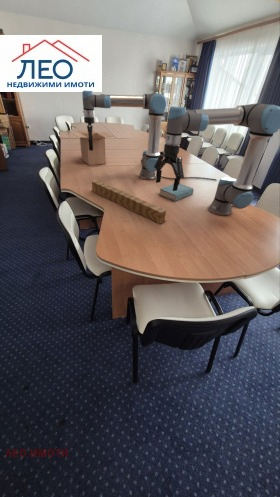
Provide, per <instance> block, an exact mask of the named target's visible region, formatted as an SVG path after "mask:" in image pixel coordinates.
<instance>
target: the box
mask: <svg viewBox="0 0 280 497" xmlns="http://www.w3.org/2000/svg"><path fill="white" fill-rule="evenodd" d="M70 133H71V134H72V135H74V136H75V137H77V138H79V144H80V153H81V160H83V162H85V163H86V165H87V166H95V165H97V166H98V165H106V163H107V162H106V158H107V157H106V138H113V137H114V136H113V135H111V134H109V133H108V132H105V131H98V132H96V131H95V130H93V129H92V136H93V137H92V140H93V151H92V150H89V141H88V140H89V134H88V130H77V132H76V131H70Z"/></svg>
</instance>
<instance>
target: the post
mask: <svg viewBox="0 0 280 497" xmlns="http://www.w3.org/2000/svg"><path fill="white" fill-rule="evenodd" d="M91 191H92V192H93V193H95V194H97V195H99V196H101V197H104V198H106V199H108V200H110V201H112V202H114V203H116V204H118V205H120V206H122V207H124V208H126V209H129V210H131V211H132V212H135V213H137V214H139V215H141V216H143V217H145V218H147V219H149V220H152V221H153V222H155V223H157V224H162V223H163V222H165V221H166V215H167V214H166V213H167V210H166V209H164V208H162V207H160V206H158V205H155V204H153V203H151V202H149V201H146V200H144V199H141V198H139V197H137V196H134V195H132V194H130V193H127V192H125V191H123V190H121V189H118V188H116V187H114V186H112V185H109V184H107V183H105V182H102V181H100V180H93V181H91Z"/></svg>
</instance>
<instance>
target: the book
mask: <svg viewBox="0 0 280 497" xmlns="http://www.w3.org/2000/svg"><path fill="white" fill-rule="evenodd" d="M173 186H174V183H172V184H170V185H166V186H164V187H161V188H159V190H160V191H159V194H158V195H159V196H161V197H164V198H165V199H168V200H171V201H173V202H176V201H179V200H182V199H184V198H186V197H188V196H191V195H193V194H194V188H193V187H191V186H188V185H185V184H183V183H179V185H178V189H177V190H176V191H173Z"/></svg>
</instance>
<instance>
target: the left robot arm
mask: <svg viewBox="0 0 280 497" xmlns="http://www.w3.org/2000/svg"><path fill="white" fill-rule="evenodd" d="M81 93H82V94H81V96H82V109H83V111H82V113H83V116H84V117H83V121H84V123H85V124H87V125H86V129H87V131H88V134H89V140H88V141H89V150H92V151H93V140H92V137H93V136H92V130H93V128H94V127H93V124H95V122H96V119H95V116H96V115H95V108H96V109H97V108H99V109H111V108H114V107H115V108H142V109H143V110H148V117H149V129H148V141H147V142H148V143H147V150H143V151H142V158H143V159H142V158H141V160H142V163H141V169H140V172H139V174H138V175H139V178H140V179H142V180H146V181H154V180H156V178H157V176H156V172H157V170H156V168H154V166H155V164H156V162H157V160H158V158H159V155H160V152H159V149H160V148H159V147H160V137H161V129H162V119H163V118H164V116H165V112H166V111H165V110H166V109H167V106H168V102H167V99H166V97H165V96H164V94H162V93H159V92H153V93H143V94H142V95H137V94H135V95H134V94H105V93H101V94H94V91H93V90H82V92H81ZM175 178H176V177H166V176H161V179H168V180H175ZM183 179H203V180H204V179H205V180H209V181H210V180H212V181H217V179H216V178H210V177H200V176H189V177H187V176H186V177H185V176H184V178H183Z"/></svg>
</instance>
